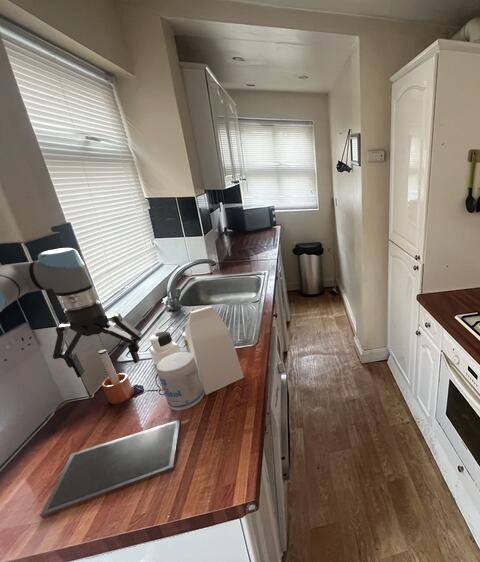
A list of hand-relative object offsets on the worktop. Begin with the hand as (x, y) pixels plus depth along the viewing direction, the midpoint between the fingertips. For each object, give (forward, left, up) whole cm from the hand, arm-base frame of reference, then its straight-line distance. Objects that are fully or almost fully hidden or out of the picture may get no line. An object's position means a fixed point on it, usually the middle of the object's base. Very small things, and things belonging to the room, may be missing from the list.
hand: (110, 367), depth 92 cm
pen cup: (0, 0, -12) cm, 12 cm away
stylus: (0, 0, -11) cm, 11 cm away
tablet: (+6, -28, -12) cm, 31 cm away
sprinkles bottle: (+21, +8, -12) cm, 25 cm away
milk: (+28, -4, -12) cm, 31 cm away
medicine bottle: (+11, +14, -12) cm, 21 cm away
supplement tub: (+19, -11, -12) cm, 25 cm away
